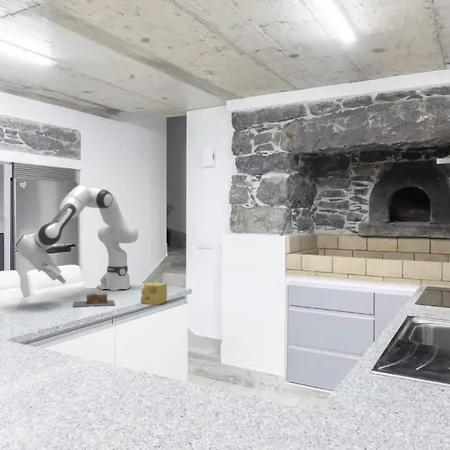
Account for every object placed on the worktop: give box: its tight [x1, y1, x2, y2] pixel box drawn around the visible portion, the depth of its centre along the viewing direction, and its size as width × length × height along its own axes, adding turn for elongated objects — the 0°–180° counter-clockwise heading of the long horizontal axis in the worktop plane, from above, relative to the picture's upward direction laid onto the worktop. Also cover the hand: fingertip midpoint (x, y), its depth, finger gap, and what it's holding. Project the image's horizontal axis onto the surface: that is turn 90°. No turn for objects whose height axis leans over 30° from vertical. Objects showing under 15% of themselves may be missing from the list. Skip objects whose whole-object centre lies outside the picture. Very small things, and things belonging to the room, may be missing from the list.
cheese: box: [140, 281, 168, 306], centre depth 240 cm, size 10×11×10 cm
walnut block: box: [86, 292, 108, 304], centre depth 233 cm, size 4×4×10 cm
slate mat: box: [72, 299, 116, 308], centre depth 233 cm, size 20×12×1 cm, turn 107°
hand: (64, 282), depth 228 cm, fingers closed
